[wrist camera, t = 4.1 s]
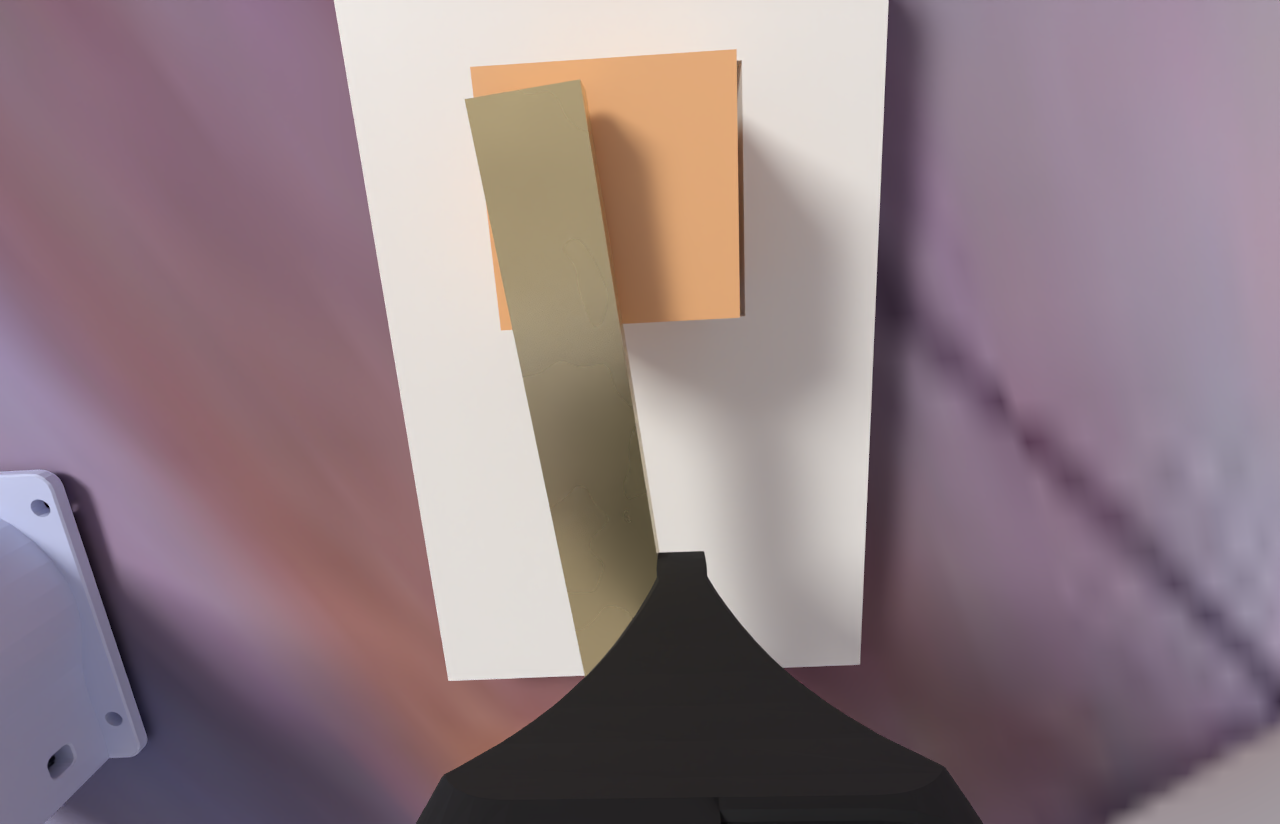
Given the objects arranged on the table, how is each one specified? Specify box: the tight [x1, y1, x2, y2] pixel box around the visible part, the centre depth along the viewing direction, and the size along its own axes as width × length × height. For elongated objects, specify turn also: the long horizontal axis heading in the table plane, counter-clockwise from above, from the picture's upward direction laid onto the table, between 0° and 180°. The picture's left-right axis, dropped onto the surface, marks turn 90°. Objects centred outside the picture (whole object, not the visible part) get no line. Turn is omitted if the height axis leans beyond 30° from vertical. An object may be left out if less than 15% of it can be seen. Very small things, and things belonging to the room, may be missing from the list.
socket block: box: [334, 0, 889, 681], centre depth 14 cm, size 17×11×6 cm, turn 3°
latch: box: [465, 79, 660, 677], centre depth 11 cm, size 12×2×1 cm, turn 9°
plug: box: [470, 49, 740, 330], centre depth 13 cm, size 4×4×6 cm
